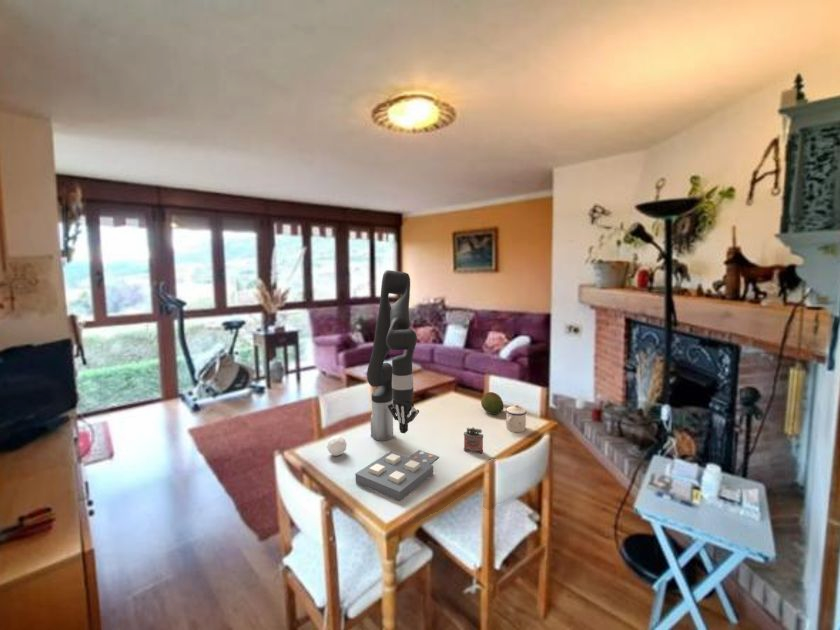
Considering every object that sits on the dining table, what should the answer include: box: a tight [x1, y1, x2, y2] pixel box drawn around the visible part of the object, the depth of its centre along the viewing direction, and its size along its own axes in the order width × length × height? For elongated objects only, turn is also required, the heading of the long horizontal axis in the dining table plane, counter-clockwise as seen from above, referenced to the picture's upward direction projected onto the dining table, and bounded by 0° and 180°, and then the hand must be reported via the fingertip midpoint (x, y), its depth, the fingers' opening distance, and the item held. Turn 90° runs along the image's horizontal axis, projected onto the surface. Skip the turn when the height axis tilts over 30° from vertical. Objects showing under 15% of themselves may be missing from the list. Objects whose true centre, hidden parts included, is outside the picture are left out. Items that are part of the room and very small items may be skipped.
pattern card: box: [408, 449, 440, 465], centre depth 160 cm, size 10×8×1 cm
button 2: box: [405, 460, 420, 472], centre depth 146 cm, size 4×4×3 cm
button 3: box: [369, 464, 385, 476], centre depth 144 cm, size 4×4×3 cm
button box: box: [354, 450, 434, 502], centre depth 145 cm, size 20×20×4 cm
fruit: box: [480, 391, 504, 415], centre depth 205 cm, size 12×12×10 cm
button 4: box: [389, 471, 405, 484], centre depth 139 cm, size 4×4×3 cm
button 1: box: [386, 454, 401, 465], centre depth 151 cm, size 4×4×3 cm
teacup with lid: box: [505, 403, 527, 433], centre depth 184 cm, size 12×9×12 cm
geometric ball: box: [326, 435, 348, 457], centre depth 163 cm, size 8×8×8 cm
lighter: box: [463, 426, 484, 455], centre depth 164 cm, size 8×3×10 cm, turn 69°
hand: (403, 432), depth 143 cm, fingers closed
